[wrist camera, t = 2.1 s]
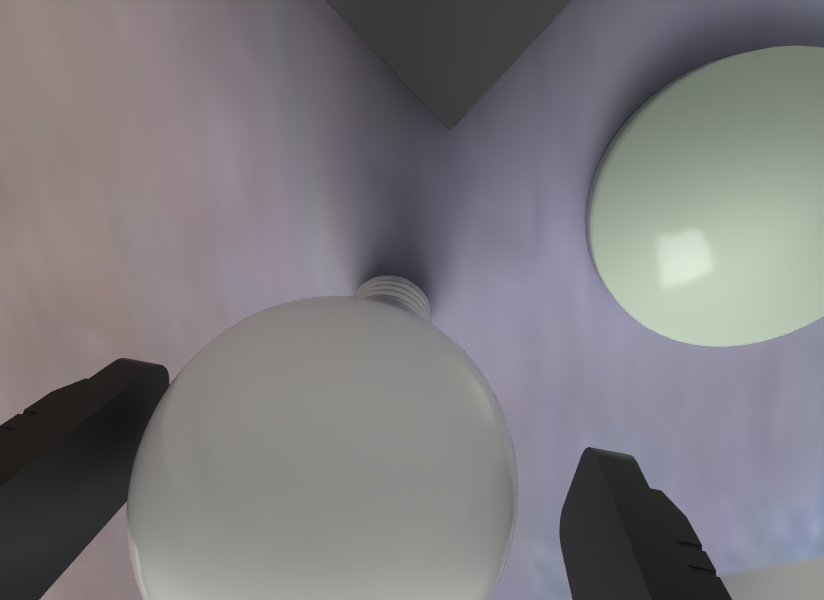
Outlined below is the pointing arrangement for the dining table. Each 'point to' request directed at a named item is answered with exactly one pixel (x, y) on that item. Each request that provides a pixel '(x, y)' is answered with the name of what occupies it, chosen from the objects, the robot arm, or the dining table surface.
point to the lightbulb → (326, 461)
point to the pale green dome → (718, 201)
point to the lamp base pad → (448, 43)
